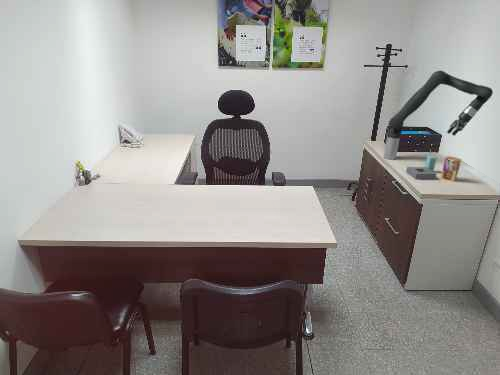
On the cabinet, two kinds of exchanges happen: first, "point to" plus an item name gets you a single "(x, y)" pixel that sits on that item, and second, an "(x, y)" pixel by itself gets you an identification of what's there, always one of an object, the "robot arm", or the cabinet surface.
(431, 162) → the teal peg
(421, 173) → the socket block
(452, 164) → the candy box
